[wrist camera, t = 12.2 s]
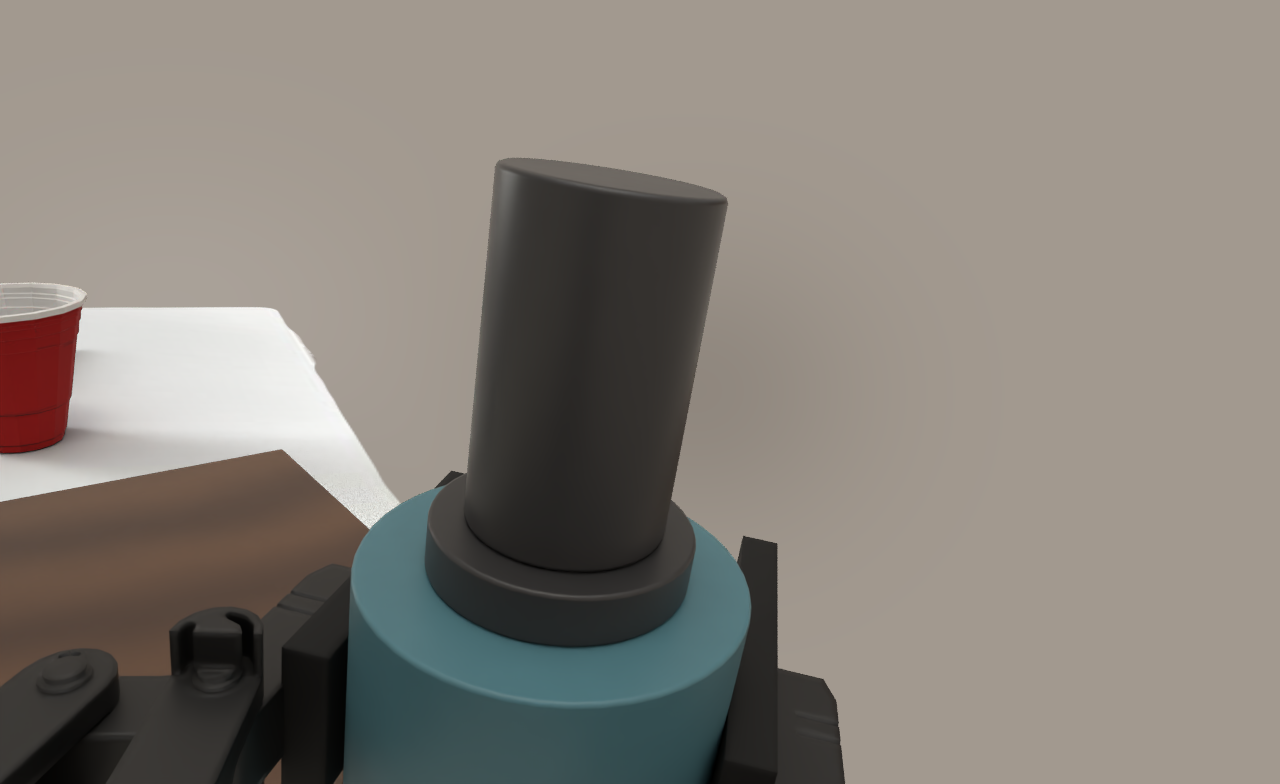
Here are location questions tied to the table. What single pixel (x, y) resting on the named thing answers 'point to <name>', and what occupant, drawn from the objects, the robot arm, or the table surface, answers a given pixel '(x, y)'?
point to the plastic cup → (36, 362)
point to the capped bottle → (560, 517)
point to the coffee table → (161, 557)
